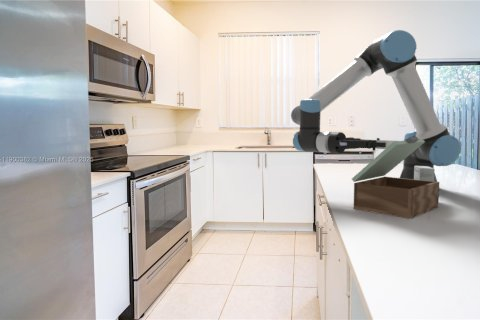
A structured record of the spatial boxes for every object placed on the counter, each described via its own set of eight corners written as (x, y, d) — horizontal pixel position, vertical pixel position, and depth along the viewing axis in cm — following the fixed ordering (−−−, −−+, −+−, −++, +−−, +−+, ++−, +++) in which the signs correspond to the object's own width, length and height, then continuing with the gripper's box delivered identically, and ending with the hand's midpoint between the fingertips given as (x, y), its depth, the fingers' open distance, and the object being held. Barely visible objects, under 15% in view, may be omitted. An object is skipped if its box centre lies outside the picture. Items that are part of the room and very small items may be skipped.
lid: (384, 175, 139) (382, 172, 140) (429, 138, 128) (426, 135, 128) (353, 181, 124) (351, 178, 125) (400, 140, 113) (397, 137, 113)
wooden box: (384, 199, 140) (385, 176, 139) (438, 207, 127) (439, 181, 126) (353, 208, 125) (354, 183, 124) (410, 218, 112) (412, 189, 112)
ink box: (433, 203, 134) (435, 168, 133) (418, 202, 135) (419, 168, 134) (427, 198, 142) (428, 165, 141) (412, 197, 143) (414, 165, 142)
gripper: (341, 152, 146) (405, 155, 129) (321, 154, 137) (387, 158, 120) (342, 131, 145) (406, 132, 129) (321, 132, 136) (388, 133, 120)
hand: (397, 145), depth 124 cm, fingers closed
